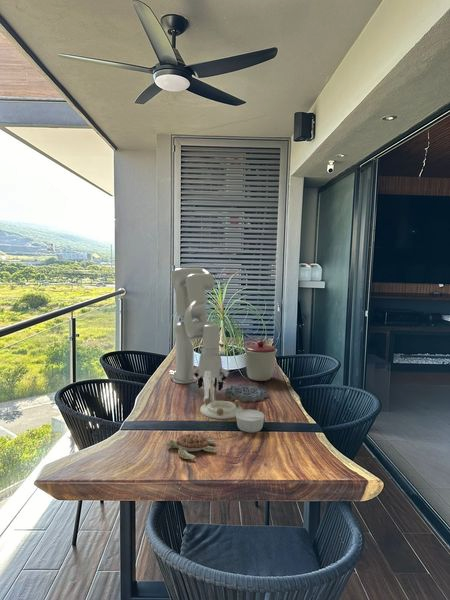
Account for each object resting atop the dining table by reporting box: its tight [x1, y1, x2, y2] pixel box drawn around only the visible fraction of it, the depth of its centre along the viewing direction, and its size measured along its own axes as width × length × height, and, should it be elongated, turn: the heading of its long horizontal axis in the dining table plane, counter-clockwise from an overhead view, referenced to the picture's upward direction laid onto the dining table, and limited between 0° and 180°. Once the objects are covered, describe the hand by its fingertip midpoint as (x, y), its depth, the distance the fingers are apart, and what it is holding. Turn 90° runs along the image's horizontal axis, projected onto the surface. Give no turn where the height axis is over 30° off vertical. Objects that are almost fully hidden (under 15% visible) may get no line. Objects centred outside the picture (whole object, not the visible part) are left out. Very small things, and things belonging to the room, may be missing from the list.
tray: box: [199, 398, 244, 420], centre depth 168 cm, size 18×18×4 cm
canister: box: [243, 340, 278, 382], centre depth 216 cm, size 18×18×21 cm
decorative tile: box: [225, 384, 269, 403], centre depth 189 cm, size 20×20×2 cm
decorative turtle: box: [166, 433, 217, 460], centre depth 134 cm, size 18×17×5 cm
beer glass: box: [202, 370, 219, 403], centre depth 179 cm, size 7×7×15 cm
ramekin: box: [235, 408, 265, 433], centre depth 152 cm, size 11×11×5 cm
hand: (210, 388), depth 179 cm, fingers open, 9 cm apart
